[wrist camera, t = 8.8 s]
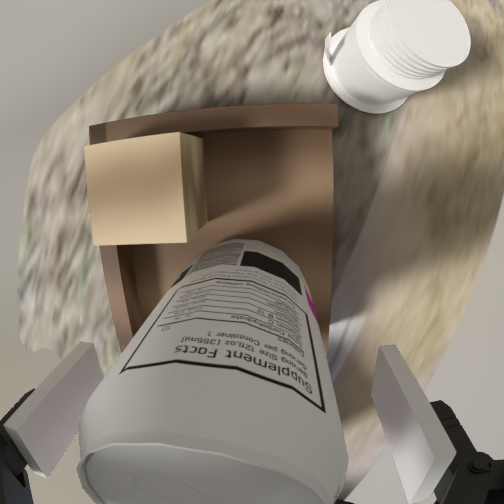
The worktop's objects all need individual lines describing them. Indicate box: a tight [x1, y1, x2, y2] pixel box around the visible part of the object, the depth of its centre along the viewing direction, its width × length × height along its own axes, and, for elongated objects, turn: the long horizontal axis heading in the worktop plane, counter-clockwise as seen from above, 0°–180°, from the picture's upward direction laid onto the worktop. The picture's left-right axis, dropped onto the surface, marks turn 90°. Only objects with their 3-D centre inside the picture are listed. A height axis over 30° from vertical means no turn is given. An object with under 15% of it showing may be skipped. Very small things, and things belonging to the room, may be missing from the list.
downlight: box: [323, 0, 471, 114], centre depth 15 cm, size 8×7×10 cm
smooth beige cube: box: [84, 132, 208, 246], centre depth 17 cm, size 5×5×5 cm
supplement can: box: [77, 239, 348, 504], centre depth 14 cm, size 8×8×15 cm
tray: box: [89, 104, 339, 355], centre depth 21 cm, size 16×14×6 cm
